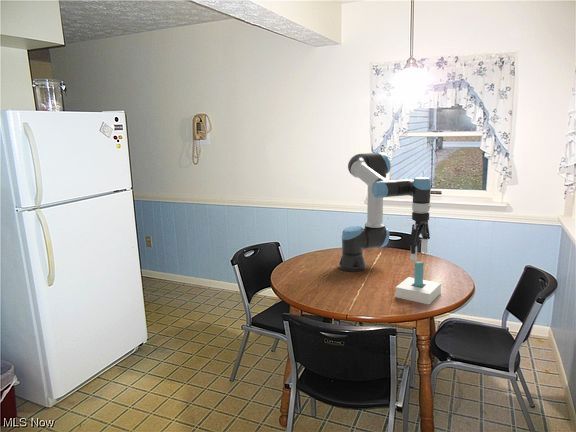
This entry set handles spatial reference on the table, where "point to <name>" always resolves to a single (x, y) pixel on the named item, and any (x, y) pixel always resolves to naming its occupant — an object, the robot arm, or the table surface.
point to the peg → (418, 274)
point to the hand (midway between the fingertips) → (418, 256)
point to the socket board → (418, 291)
